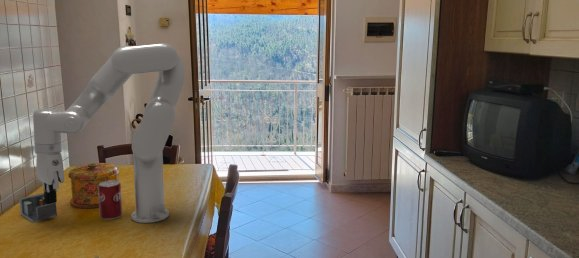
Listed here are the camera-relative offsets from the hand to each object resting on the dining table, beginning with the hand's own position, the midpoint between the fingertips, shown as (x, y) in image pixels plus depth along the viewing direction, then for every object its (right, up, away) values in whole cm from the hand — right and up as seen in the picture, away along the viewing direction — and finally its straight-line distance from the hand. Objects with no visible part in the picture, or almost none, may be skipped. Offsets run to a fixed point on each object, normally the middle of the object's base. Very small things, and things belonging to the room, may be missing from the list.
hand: (50, 202), depth 148 cm
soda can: (+16, -7, +10) cm, 20 cm away
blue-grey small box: (-5, -5, +6) cm, 10 cm away
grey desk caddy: (-8, -6, +9) cm, 13 cm away
